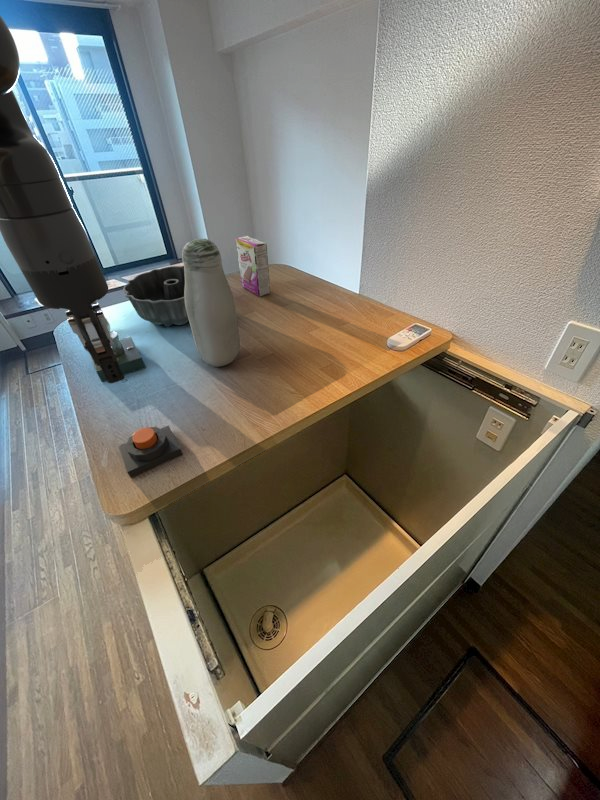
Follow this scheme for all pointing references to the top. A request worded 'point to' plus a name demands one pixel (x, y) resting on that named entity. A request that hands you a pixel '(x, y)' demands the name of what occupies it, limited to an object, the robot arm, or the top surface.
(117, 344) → the dial
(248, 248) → the candy bar box
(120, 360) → the panel
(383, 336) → the top surface
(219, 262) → the off-white tall tapered cylinder
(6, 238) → the robot arm
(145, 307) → the bundt pan
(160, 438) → the button block
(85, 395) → the top surface
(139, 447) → the button
